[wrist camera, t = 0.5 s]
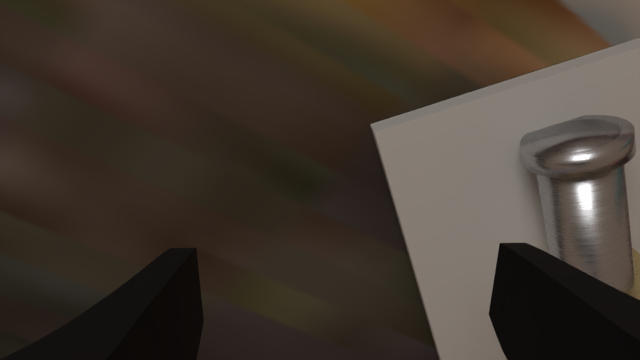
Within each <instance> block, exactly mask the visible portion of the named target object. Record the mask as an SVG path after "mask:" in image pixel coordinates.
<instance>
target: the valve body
mask: <svg viewBox="0 0 640 360" xmlns="http://www.w3.org/2000/svg"><path fill="white" fill-rule="evenodd" d="M520 147H521V153H522V158H523V164H524V166H525V168H526V169H527V170H529V171H530V172H532V173H534V174H536V175H537V181H538V187H539V193H540V199H541V205H542V211H543V217H544V223H545V229H546V235H547V241H548V247H549V254H551V255H553V256H555V257H557V258H559V259H561V260H562V261H564V262H566V263H568V264H570V265H572V266H574V267H576V268H577V269H579V270H581V271H583V272H585V273H587V274H589V275H591V276H593V277H594V278H596V279H598V280H600V281H602V282H604V283H606V284H608V285H610V286H612V287H614V288H616V289H618V290H620V291H622V292H624V293H626V294H628V295H630V296H632V297H634V298H637V299H639V300H640V253H639V252H637V251H636V250H635V249H634V248H632V242H631V231H630V220H629V209H628V198H627V187H626V176H625V164H626V163H628V162H629V161H630V160H631V159H632V158H633V157H634V156H635V153H636V140H635V128H634V126H633V124H632V123H630V122H629V121H627V120H625V119H622V118H619V117H615V116H607V115H584V116H581V117H577V118H574V119H571V120H568V121H564V122H561V123H558V124H555V125H552V126H548V127H545V128H542V129H539V130H536V131H532V132H529V133H526V134H525V135H524V136H523V137H522V139H521V141H520Z"/></svg>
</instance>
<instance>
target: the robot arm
mask: <svg viewBox="0 0 640 360" xmlns="http://www.w3.org/2000/svg"><path fill="white" fill-rule="evenodd" d="M489 317H490V319H491V322H492V325H493V328H494V331H495V333H496V336H497V338H498V341H499V343H500V346H501V348H502V351H503V353H504V355H505V357H506V359H507V360H640V300H639V299H637V298H634V297H632V296H630V295H628V294H626V293H624V292H622V291H620V290H618V289H616V288H614V287H612V286H610V285H608V284H606V283H604V282H602V281H600V280H598V279H596V278H594V277H593V276H591V275H589V274H587V273H585V272H583V271H581V270H579V269H577V268H576V267H574V266H572V265H570V264H568V263H566V262H564V261H562V260H561V259H559V258H557V257H555V256H553V255H551V254H549V253H547V252H545V251H543V250H541V249H539V248H537V247H535V246H532V245H530V244H527V243H500V244H499V250H498V257H497V263H496V270H495V276H494V283H493V289H492V296H491V302H490V309H489ZM203 321H204V319H203V310H202V300H201V290H200V281H199V271H198V261H197V252H196V248H170V249H168V250H167V251H165V252H164V253H163V254H161V255H160V256H159V257H157V258H156V259H155V260H154V261H152V262H151V263H150V264H149V265H147V266H146V267H145V268H144V269H142V270H141V271H140V272H139V273H137V274H136V275H135V276H133V277H132V278H131V279H130V280H128V281H127V282H126V283H124V284H123V285H122V286H120V287H119V288H118V289H117V290H115V291H114V292H112V293H111V294H110V295H108V296H107V297H105V298H104V299H102V300H101V301H100V302H98V303H97V304H95V305H94V306H92V307H91V308H90V309H88V310H87V311H85V312H84V313H82V314H81V315H79V316H78V317H76V318H75V319H73V320H72V321H70V322H68V323H67V324H65V325H64V326H62V327H60V328H59V329H57V330H55V331H53V332H52V333H50V334H48V335H47V336H45V337H43V338H41V339H40V340H38V341H36V342H34V343H32V344H30V345H29V346H27V347H25V348H23V349H21V350H19V351H17V352H15V353H12V354H10V355H8V356H6V357H4V358H2V359H0V360H196V359H197V354H198V349H199V344H200V338H201V332H202V327H203Z"/></svg>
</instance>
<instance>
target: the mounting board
mask: <svg viewBox="0 0 640 360" xmlns="http://www.w3.org/2000/svg"><path fill="white" fill-rule="evenodd" d="M584 115H607V116H615V117H619V118H622V119H625V120H627V121H629V122H630V123H632V124H633V126H634V128H635V140H636V153H635V156H634V157H633V158H632V159H631V160H630V161H629V162H628V163H626V164H625V176H626V187H627V198H628V209H629V220H630V231H631V242H632V248H634V249H635V250H636V251H637V252H639V253H640V38H637V39H634V40H631V41H628V42H625V43H622V44H619V45H616V46H613V47H609V48H606V49H603V50H600V51H597V52H594V53H591V54H588V55H585V56H581V57H578V58H575V59H572V60H569V61H566V62H563V63H560V64H557V65H553V66H550V67H547V68H544V69H541V70H538V71H535V72H532V73H529V74H525V75H522V76H519V77H516V78H513V79H510V80H507V81H504V82H501V83H497V84H494V85H491V86H488V87H485V88H482V89H479V90H476V91H473V92H469V93H466V94H463V95H460V96H457V97H454V98H451V99H448V100H444V101H441V102H438V103H435V104H432V105H429V106H426V107H423V108H420V109H416V110H413V111H410V112H407V113H404V114H401V115H398V116H395V117H392V118H388V119H385V120H382V121H379V122H376V123H373V124H370V125H371V129H372V132H373V135H374V139H375V142H376V146H377V149H378V152H379V156H380V159H381V163H382V166H383V169H384V173H385V176H386V180H387V183H388V186H389V190H390V193H391V197H392V200H393V203H394V207H395V210H396V214H397V217H398V220H399V224H400V227H401V231H402V234H403V238H404V241H405V244H406V248H407V251H408V255H409V258H410V261H411V265H412V268H413V272H414V275H415V278H416V282H417V285H418V289H419V292H420V295H421V299H422V302H423V306H424V309H425V312H426V316H427V319H428V323H429V326H430V329H431V333H432V336H433V340H434V343H435V346H436V350H437V353H438V357H439V360H507V359H506V357H505V355H504V353H503V351H502V348H501V346H500V343H499V341H498V338H497V336H496V333H495V331H494V328H493V325H492V322H491V319H490V317H489V309H490V302H491V296H492V289H493V283H494V276H495V270H496V263H497V257H498V250H499V244H500V243H527V244H530V245H532V246H535V247H537V248H539V249H541V250H543V251H545V252H547V253H549V247H548V241H547V235H546V229H545V223H544V217H543V211H542V205H541V199H540V193H539V187H538V181H537V175H536V174H534V173H532V172H530V171H529V170H527V169H526V168H525V166H524V164H523V158H522V153H521V147H520V141H521V139H522V137H523V136H524V135H525V134H526V133H529V132H532V131H536V130H539V129H542V128H545V127H548V126H552V125H555V124H558V123H561V122H564V121H568V120H571V119H574V118H577V117H581V116H584Z"/></svg>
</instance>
